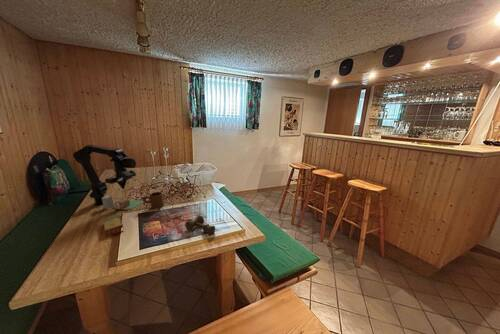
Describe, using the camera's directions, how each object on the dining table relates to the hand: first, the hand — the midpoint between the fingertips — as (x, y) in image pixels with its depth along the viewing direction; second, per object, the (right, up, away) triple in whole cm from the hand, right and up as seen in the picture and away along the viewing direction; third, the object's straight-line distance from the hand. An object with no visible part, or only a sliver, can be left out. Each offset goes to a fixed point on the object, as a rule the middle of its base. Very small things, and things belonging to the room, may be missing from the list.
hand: (123, 188), depth 135 cm
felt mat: (+3, -11, +3) cm, 12 cm away
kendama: (+61, -20, -27) cm, 70 cm away
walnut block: (0, -11, -7) cm, 13 cm away
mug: (+23, -13, -2) cm, 26 cm away
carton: (+11, -20, -25) cm, 34 cm away
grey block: (-9, -13, -2) cm, 16 cm away
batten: (+1, -13, -4) cm, 14 cm away
